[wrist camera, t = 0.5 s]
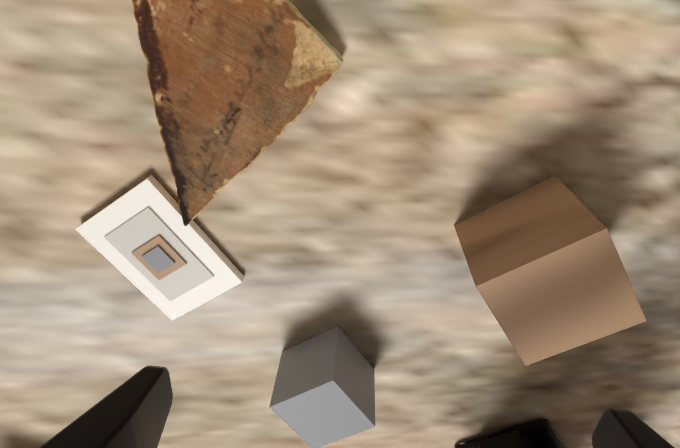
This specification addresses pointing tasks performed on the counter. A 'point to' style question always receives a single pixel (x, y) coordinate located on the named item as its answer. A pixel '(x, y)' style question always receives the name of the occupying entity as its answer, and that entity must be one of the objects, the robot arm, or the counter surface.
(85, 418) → the robot arm
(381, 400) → the counter surface
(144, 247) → the plan card
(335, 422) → the gray cube
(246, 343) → the counter surface
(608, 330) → the walnut block
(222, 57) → the shard
